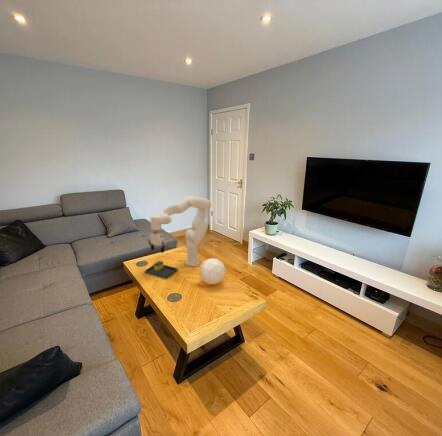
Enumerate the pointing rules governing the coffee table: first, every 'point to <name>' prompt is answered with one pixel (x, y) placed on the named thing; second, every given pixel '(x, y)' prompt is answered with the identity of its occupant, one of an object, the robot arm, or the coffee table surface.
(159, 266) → the sponge
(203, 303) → the coffee table surface
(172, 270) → the tray
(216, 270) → the geometric sphere
